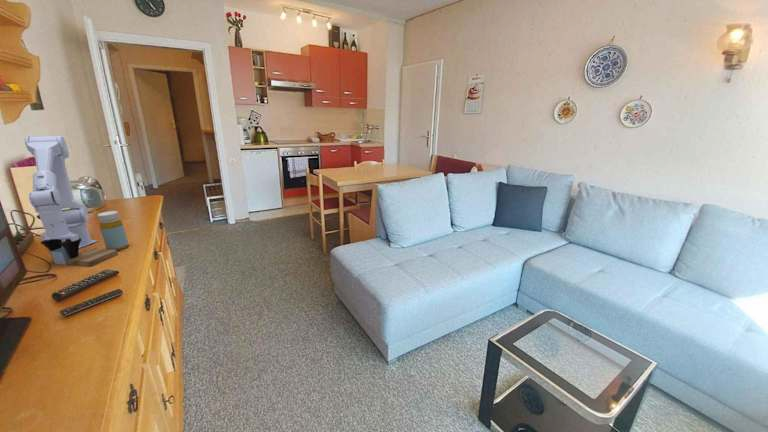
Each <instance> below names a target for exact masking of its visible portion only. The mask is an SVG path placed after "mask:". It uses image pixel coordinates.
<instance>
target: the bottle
mask: <svg viewBox="0 0 768 432" xmlns="http://www.w3.org/2000/svg"><path fill="white" fill-rule="evenodd" d="M96 215H97V219H98V220H99V230H100V232H101V235H102V238H103V239H102V240H103V242H104V245H105V249H112V250H117V252H119V251H122V250H124V249H127V248H128V247H129V246H130V245H129V241H128V237H127V234H126V230H125V226H124V223H123V221H122V220H121V219H120V215H119V212H118V211H117V210H109V211H103V212H100V213H98V214H96Z"/></svg>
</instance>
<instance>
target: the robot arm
mask: <svg viewBox="0 0 768 432" xmlns="http://www.w3.org/2000/svg"><path fill="white" fill-rule="evenodd" d="M24 145H25V147H26V149H27V151H28V152H30V154H31V155H32V156H33V157H34V160H35V165H36V172H34V173H32V192H29V193H28V199H29V202H30V204H31V206H32V207H33V209H34V211H35V212H36V214H37V213H38V215H39V218H40V221H41V224H42V227H43V229H44V230H45V231H44V232H42V233H40V234H39V236H40V239H41V240H42V241H40V244H41V245H43V246H44V247H46V248H47V249H48V250H49V251H50V252H51V251H53V250H56V249H59V248H62V247H63V248H64V249H65V250H66V252H67V253H68V255H69V257H70V258H71V259H72V258H75V257H77V256H79V254H80V252H79V249H80V248H84V247H86V246H89V245H91V244H94V243H97V242H98V240H97V239H92V238H91V235H90V231H89V230H88V226H87V224H86V223H87V222H88V221H89V220H90V217H89V211H88V210H87V208H86V205H85V204H84V203H82V202H81V201H78V200H75V199H74V194H73V191H72V187H71V183H70V178H69V176H68V170H67V167H66V159H68V158H70V153H69V149H68V145H67V142H66V140H65V138H64V137H63V136H61V135H45V136H41V135H40V136H29V135H28V136H26V137H25V138H24Z"/></svg>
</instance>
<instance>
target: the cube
mask: <svg viewBox="0 0 768 432" xmlns="http://www.w3.org/2000/svg"><path fill="white" fill-rule="evenodd" d="M50 254H51V256H52V259H53V262H54V264H55V265H64V266H66V265H67V266H68V265H69V264H68V262H67V259H69V258H70V257H69V255H68V253H67V252H66V250H65V249H64V248H63V247H62V248H59V249H56V250H53V251H50Z"/></svg>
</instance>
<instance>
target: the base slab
mask: <svg viewBox="0 0 768 432" xmlns="http://www.w3.org/2000/svg"><path fill="white" fill-rule="evenodd" d="M118 255H119V254H118V251H117V250H112V249H107V248H102V247H101V248H99V247H95V248H91V249H90V250H88V251H84V252H82V253H79V256H77V257H75V258H72V259H71V258H69V259H67V262H68V264H67V265H70V266H71V265H72V266H80V267H89V268H90V267H91V268H92V267H93V266H95V265H97V264H100V263H102V262H105V261H108V260H110V259H112V258H114V257H116V256H118Z"/></svg>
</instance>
